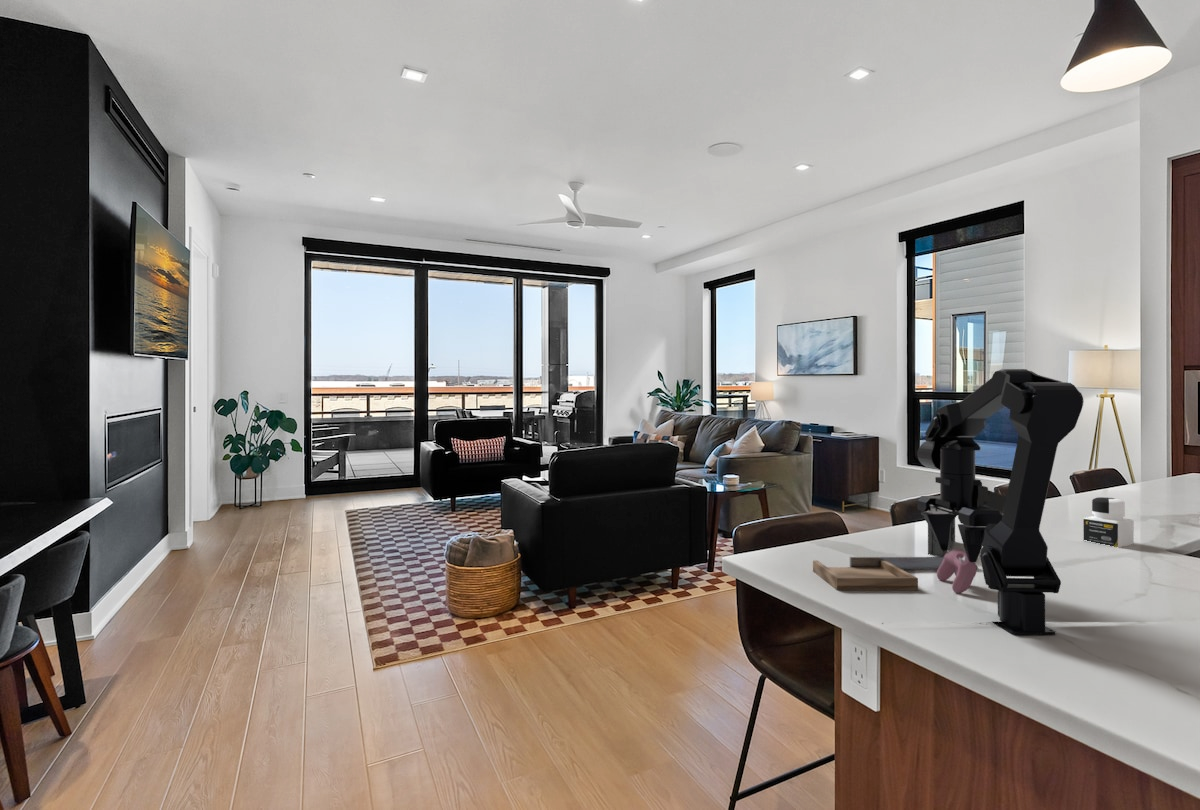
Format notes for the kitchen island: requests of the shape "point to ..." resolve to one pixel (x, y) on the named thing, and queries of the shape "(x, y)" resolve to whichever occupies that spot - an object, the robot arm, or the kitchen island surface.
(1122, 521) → the medicine bottle
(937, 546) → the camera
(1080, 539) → the kitchen island surface
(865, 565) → the gray metal bar
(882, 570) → the brown wooden tray
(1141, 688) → the kitchen island surface
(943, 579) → the video game controller
